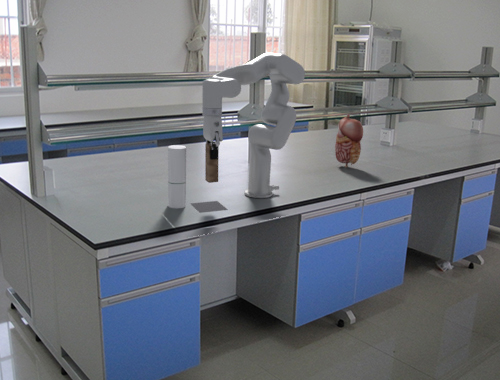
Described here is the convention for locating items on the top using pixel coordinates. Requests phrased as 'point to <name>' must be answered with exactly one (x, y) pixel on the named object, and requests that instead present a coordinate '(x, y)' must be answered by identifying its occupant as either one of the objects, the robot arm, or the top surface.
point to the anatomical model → (348, 140)
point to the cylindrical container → (176, 176)
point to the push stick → (210, 166)
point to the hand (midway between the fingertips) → (211, 157)
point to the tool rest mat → (208, 206)
